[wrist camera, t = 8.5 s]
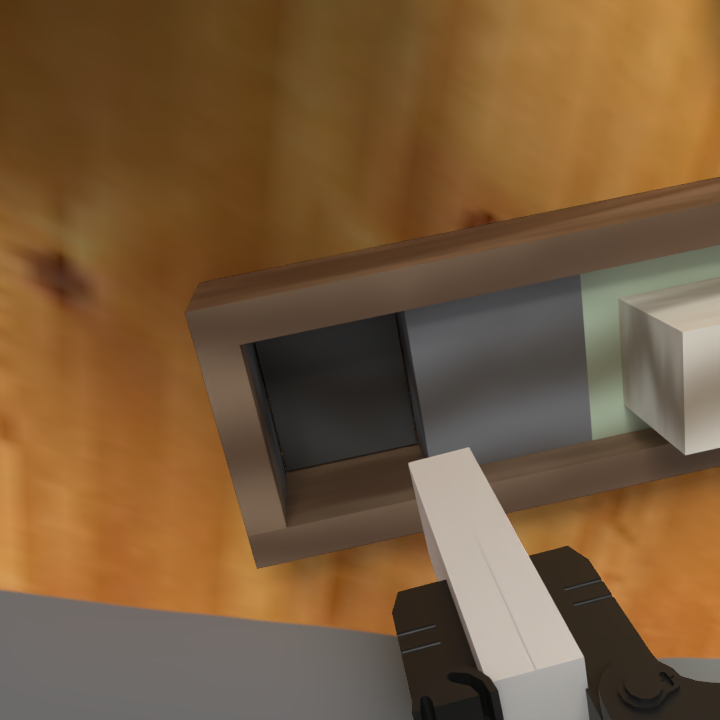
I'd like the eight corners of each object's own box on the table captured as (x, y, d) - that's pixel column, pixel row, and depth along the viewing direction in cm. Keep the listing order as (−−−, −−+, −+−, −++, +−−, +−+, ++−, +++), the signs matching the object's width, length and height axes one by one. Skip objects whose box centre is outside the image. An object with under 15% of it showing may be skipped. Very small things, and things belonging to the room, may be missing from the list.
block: (617, 298, 35) (682, 332, 29) (730, 274, 35) (816, 303, 30) (623, 404, 37) (685, 455, 31) (730, 381, 37) (810, 427, 32)
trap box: (199, 282, 36) (184, 312, 31) (879, 144, 38) (983, 148, 32) (260, 507, 41) (257, 568, 36) (862, 376, 43) (950, 415, 37)
